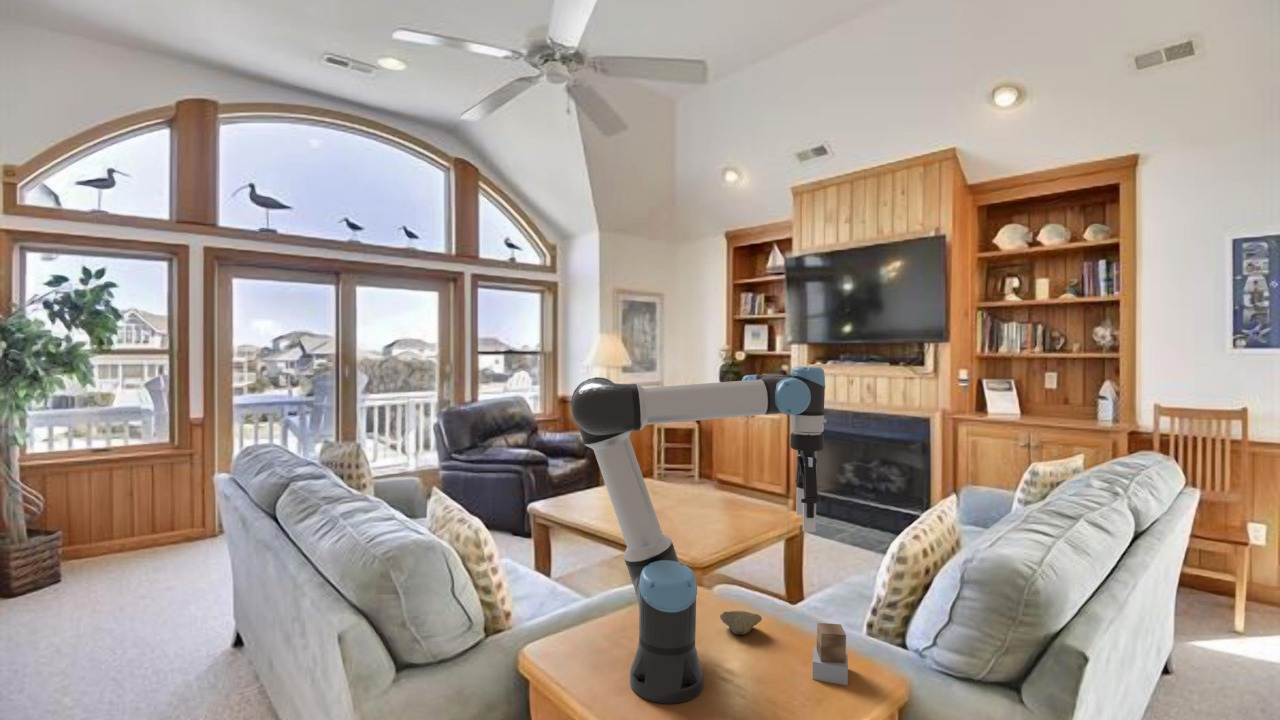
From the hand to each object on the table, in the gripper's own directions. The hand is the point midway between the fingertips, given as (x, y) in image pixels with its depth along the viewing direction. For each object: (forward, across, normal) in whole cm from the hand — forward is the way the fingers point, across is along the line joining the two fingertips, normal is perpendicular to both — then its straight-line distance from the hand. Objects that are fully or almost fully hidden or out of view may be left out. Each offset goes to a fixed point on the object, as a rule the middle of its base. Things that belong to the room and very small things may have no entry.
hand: (805, 522), depth 140 cm
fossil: (+29, +4, +14) cm, 33 cm away
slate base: (+29, -12, -4) cm, 32 cm away
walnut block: (+25, -12, -4) cm, 28 cm away
